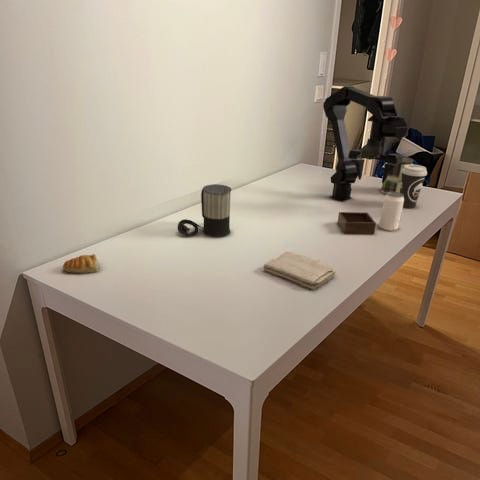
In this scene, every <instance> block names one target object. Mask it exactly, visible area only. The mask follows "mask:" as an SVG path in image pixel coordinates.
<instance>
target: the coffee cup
mask: <svg viewBox="0 0 480 480" xmlns="http://www.w3.org/2000/svg"><path fill="white" fill-rule="evenodd" d="M401 172H402V178H401V187H400V193H402V194H404V196H403V197H404V203H403V208H404V209H415V208H416V205H417V202H418V199H419V196H420V193H421V190H422V187H423V184H424V181H425V178H426V176H427V175H428V171H427V167H425V166H423V165H420V164H412V165H405V166H404V168H403V169H402V171H401ZM403 208H402V209H403Z"/></svg>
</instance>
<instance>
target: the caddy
mask: <svg viewBox="0 0 480 480" xmlns="http://www.w3.org/2000/svg"><path fill="white" fill-rule="evenodd" d="M337 224H338V226H339V228H340V229H341V231H342V233H343V234H344V235H375V232H376V226H377V223H376V221H375V220H374V219H373V217H372V216H371V214H370V213H369V212H357V211H356V212H355V211H353V212H352V211H347V212H346V211H338V215H337Z"/></svg>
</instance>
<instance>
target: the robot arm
mask: <svg viewBox="0 0 480 480" xmlns="http://www.w3.org/2000/svg"><path fill="white" fill-rule="evenodd" d="M352 102H353V103H355V104H357V105H360V106H362V107H365V108H366V110H367V112H368V113H369V114H371V116H370V117H369V118H368V119H367V122H371V125H370V133H369V138H367V141H366V144H364V145H363V146H362V147H361V148H360V149H350V143H349V139H348V133H347V132H348V131H347V128H346V121H345V117H346V114H347V112H348V111H347V107H348V106H349V105H350V104H351V103H352ZM322 107H323V108H322V109H323V111H324V114H325V117H326V118H327V119H328V121H329V122H330V123H331V129H332V134H333V139H334V144H335V150H336V155H337V162H336V165H335V172H334V173H333V174H332V175H331V176H330V184H333V188H332V194H331V195H329V198H330V199H333V200H337V201H339V202H344V201H347V200H351V199H352V196H351V194H352V184H355V183H356V181H357V179H358V181H360V180H361V179H362V177H363V173H364V172H363V171H364V166H365V160H370V161H371V160H378V161H385V162H386V163H384V165H383V166H384V167H383V168H384V169H383V173H382V178H381V183H382V184H383V183H384V182H385V180H386V178H387V177H388V175H389V173H390V172H391V170H392V169H393V168H394V166H396V165H398V164H399V163H402V160H403V157H402V156H403V155H402V154H399V153H388V154H387V155H386V151H385V149H386V143H388V139H387V138H391V139H399V140H400V139H403V138H405V137H406V135H407V133H408V124H407V122H406V121H405V116H399V114H398V111H397V109H396V106H395V103H394V99H393V97H391V96H386V95H385V96H384V95H375V94H371V93H369V92H366V91H363V90H362V89H358V88H357V87H356V86H353V85H344V86H343V87H341V88H340V89H339V90H337V91H336V92H333V93H332V94H331V95H329V96H327V97H326V98H325V100H324V102H323V104H322Z"/></svg>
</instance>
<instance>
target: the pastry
mask: <svg viewBox="0 0 480 480" xmlns="http://www.w3.org/2000/svg"><path fill="white" fill-rule="evenodd" d="M62 268H63V270H64V271H66V272H68V273H72V274H74V273H75V274H87V273H90V274H92V273H95V272H98V271H99V261H98V259H97V255H96V254H95V253H93V254H82V255H81V254H80V255H79V256H76V257H74V258H70V259H68V260H66V261H65V262H64V263H63V265H62Z"/></svg>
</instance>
